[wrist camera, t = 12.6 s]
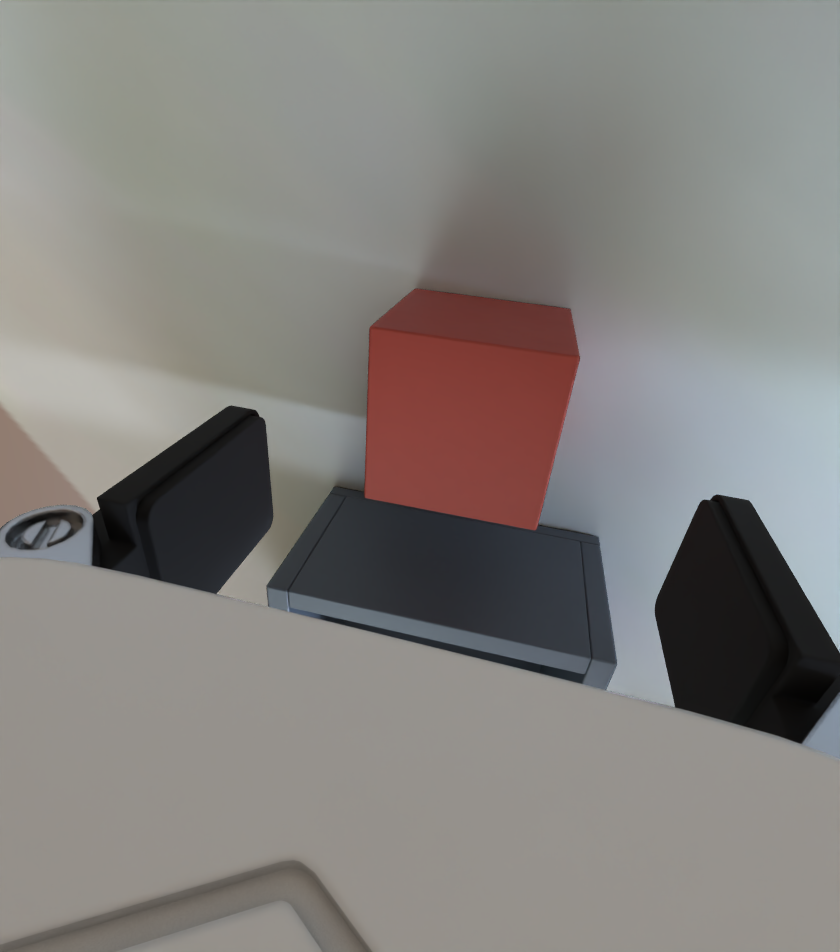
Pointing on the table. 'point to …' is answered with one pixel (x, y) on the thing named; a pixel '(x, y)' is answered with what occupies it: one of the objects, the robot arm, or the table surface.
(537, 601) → the tub
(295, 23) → the table surface
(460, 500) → the block
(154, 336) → the table surface
